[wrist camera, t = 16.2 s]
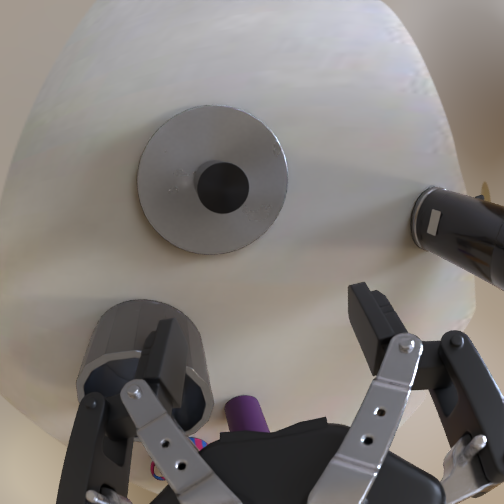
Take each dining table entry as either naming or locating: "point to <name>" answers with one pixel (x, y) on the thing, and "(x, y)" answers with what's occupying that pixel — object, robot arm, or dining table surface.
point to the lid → (212, 179)
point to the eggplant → (245, 415)
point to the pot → (128, 354)
